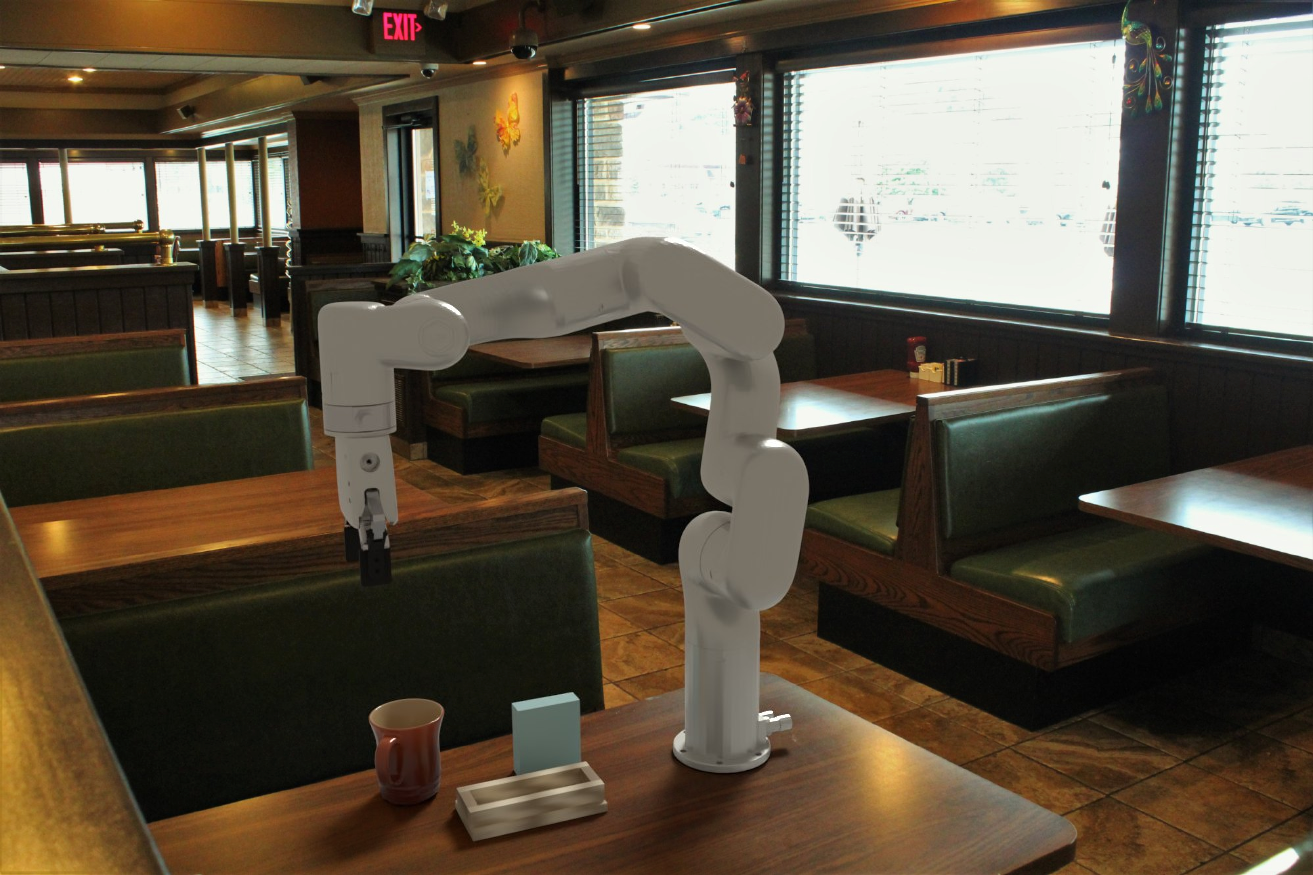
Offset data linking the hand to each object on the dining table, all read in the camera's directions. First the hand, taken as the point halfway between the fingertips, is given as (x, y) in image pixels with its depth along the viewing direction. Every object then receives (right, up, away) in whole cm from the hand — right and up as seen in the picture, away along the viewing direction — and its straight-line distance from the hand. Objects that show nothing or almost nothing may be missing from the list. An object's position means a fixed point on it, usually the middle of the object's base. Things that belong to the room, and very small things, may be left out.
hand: (368, 571), depth 124 cm
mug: (+2, -29, +11) cm, 31 cm away
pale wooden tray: (+17, -29, +8) cm, 34 cm away
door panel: (+18, -27, +18) cm, 37 cm away
